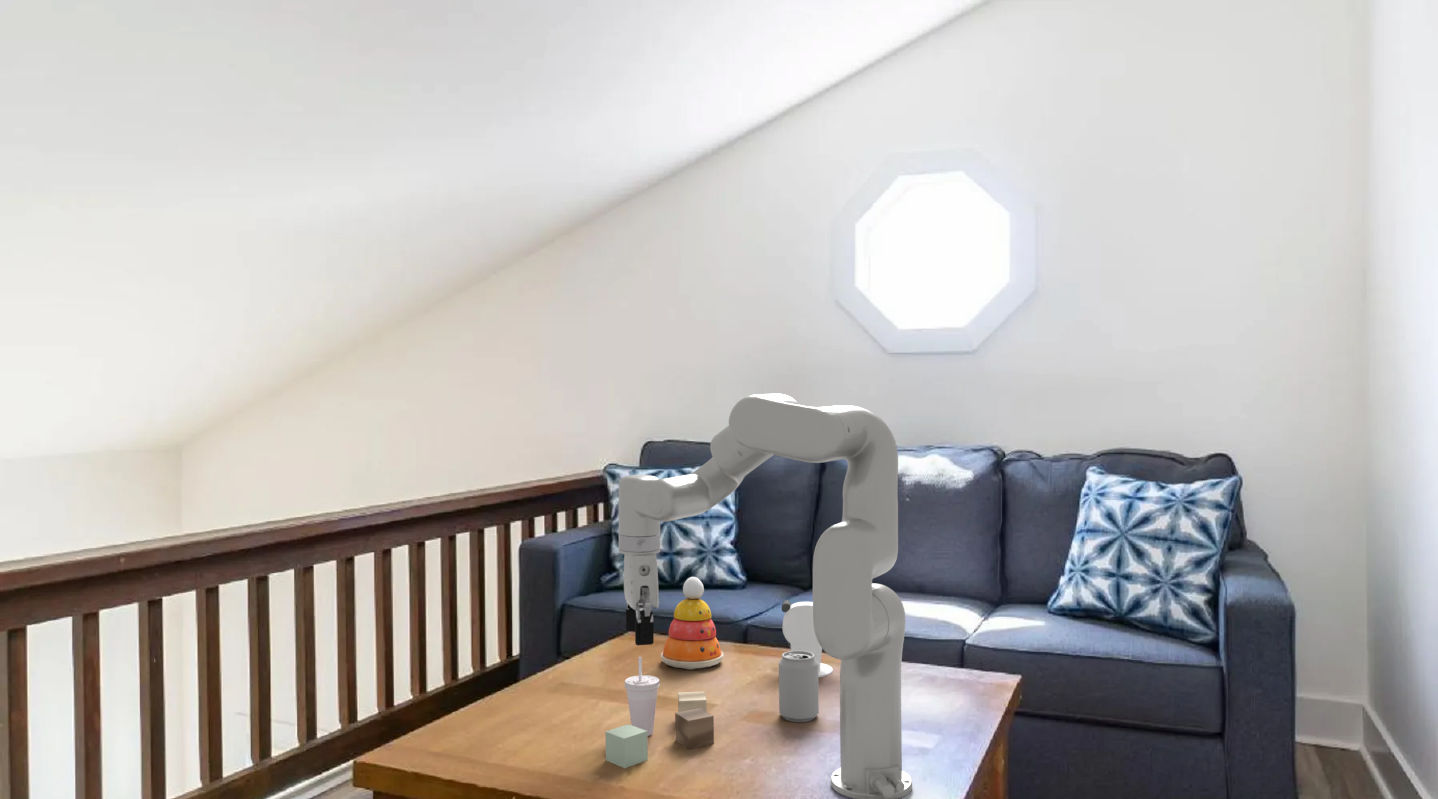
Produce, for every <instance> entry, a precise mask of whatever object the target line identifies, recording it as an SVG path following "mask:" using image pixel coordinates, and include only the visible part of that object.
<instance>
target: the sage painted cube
mask: <svg viewBox="0 0 1438 799" xmlns="http://www.w3.org/2000/svg"><path fill="white" fill-rule="evenodd" d="M604 734H605V736H604V737H605V761H607V762H609V763H610V764H611V763H612V764H614V765H615V766H619V767H620V768H623V769H626V768H628V767H632V766H635V765H637V764H640V763H643V762H646V761H648V758H649V757H648V749H649V748H648V736H647V731H646V730H643V729H640V728H638V727H635V726H632V725H631V724H630V723H627V724H625V725H622V726H618V727H615V728H613V729H609V730H606V731H605V733H604Z"/></svg>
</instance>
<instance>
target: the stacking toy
mask: <svg viewBox="0 0 1438 799" xmlns="http://www.w3.org/2000/svg"><path fill="white" fill-rule="evenodd" d="M682 592H683V593H682V594H683V595H684V597H685V599H683V600H681V601H680V602H679V603H678V604H677V605H676V607H675V609H674V612H673V620H672V621H671V623H670V625H669V629H668V638H667V639H666V641H665V643H664V647H663V651H662V652H661V653H660V659H661V660H662V662H663V663H664V664H666V665H667V666H671V667H673V668H677V669H678V668H679V669H685V670H689V671H690V670H691V671H693V670H695V669H703V668H710V667H712V666H715V665H718V664H719V663H720V662H722V660H723V659H724V657H725V656H724V655H725V654H724V652H723V651H722V650H721V646H720V643H719V640H718V639H717V637H716V636H717V629H716V625H715V623H714V621H713V620H712V611H711V609H710V606H709V605H708V603H706V602H705V601H704V600H703V599H701V597H702V596H703V594H704V592H705V588H704V584H703V582H702V581H701V580H700V578H698V577H696V576H690V577H688V578H687V579H686V580H685V582H684V584H683V586H682Z"/></svg>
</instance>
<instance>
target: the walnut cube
mask: <svg viewBox="0 0 1438 799" xmlns="http://www.w3.org/2000/svg"><path fill="white" fill-rule="evenodd" d="M674 714H675V717H674V718H675V719H674V720H675V724H674V725H675V726H674V727H675V730H674V732H675V741H677V742H678V743H679V744H681V745H682V746H684V747H685V748H686V749H688V750H691V749H695V748H700V747H705V746H709V745H713V744H715V733H714V732H715V730H714V729H715V725H714V724H715V722H714V720H715V718H714V717H715V716H714V715H713V714H711V713H709V712H708V711H707V712H706V711H704V710H703V709H701V708H697V709H692V710H687V711H682V712H678V711H677V712H675V713H674Z"/></svg>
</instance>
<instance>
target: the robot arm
mask: <svg viewBox="0 0 1438 799" xmlns="http://www.w3.org/2000/svg"><path fill="white" fill-rule="evenodd" d="M729 413H730V414H729V417H728V425H727V426H726V427H725V428H723V429H722V430H721V431H720V432H717V434H716V435H714V436H713V437H712V439H711V441H710V444H709V445H710V448H709V449H710V453H711V458H710V459H709V460H708V461H706V462H705V463H704V464H703V465H701V466H700V467H698V468H697V469H696V470H694V471H692V472H691V473H689V474H682V475H677V476H670V477H664V478H658V477H657V476H654V475H650V474H649V475H648V474H632V475H631V474H630V475H626V476H623V477H622V478H620V480H619V483H618V553H619V554H622V555H624V557H623V593H624V599H625V601H626V603H625V604H626V605H625V606H626V609H625V631H627V632H634V641H635V643H634V644H635V645H636V646H648V645H649V646H650V645H651V646H652V645H653V644H654V643H655V642H654V640H655V638H654V634H655V633H654V613H653V609H658V608H659V607H660V599H659V598H660V597H659V575H658V574H659V573H658V572H659V570H658V559H657V554H659V553H660V552H661V522H670V521H671V522H672V521H677V520H680V519H684V518H685V519H686V518H689V517H695V516H698V515H702V514H704V513H706V512H708V511H709V510H710V509H712V508H714V507H715V506H716V505H718V504H719V503H721V502H722V501H723V500H725V499H726V498H727V497H729V496H730V495H731V494H733V492H735V491H736V490H737V488H738V487H739V486H740V485H741V483H742V482H743V480H744V479H745V477H746V476H747V475H749V474H750V473H751V472H752V471H754V470H755V469H756V468H758V467H759V466H761V465H762V464H763V463H765V462H766V461H767V460H768V459H770V458H772V457H773V456H778V457H781V458H783V457H784V458H787V459H791V460H796V461H801V462H805V463H813V464H814V463H815V464H820V463H827V462H834V461H840V460H845V461H846V462H847V469H846V473H845V476H844V480H843V485H842V517H841V522H838V523H836V524H833V525H831V526H830V527H828V528H827V529H825V530H824V531H823V532H822V534H820V537H819V539H818V540H817V542H816V545H815V547H814V550H813V557H812V602H813V626H814V632H815V635H816V638H817V641H818V643H819V645H820V646H821V648H822V649H823V651H824V652H825V653H826V654H827V655H828V656H829V657H831V658H834V659H837V660H840V665H839V667H840V668H839V727H840V728H839V730H840V731H839V734H840V735H839V741H840V742H839V743H840V767H838V769H835V771H833V772H832V774H831V775H830V785H831V787H832V789H833V790H834V791H836V792H837V794H840V795H841V796H843V797H846V798H849V799H901V798H903V797H905V796H907V795H908V794H909V793H910V792H911V791H912V789H913V780H912V777H911V776H910V774H908V773H907V772H905V771H904V770H903V763H902V762H903V755H902V753H903V752H902V751H903V750H902V749H903V748H902V747H903V746H902V745H903V744H902V741H903V740H902V738H903V737H902V662H903V661H902V658H903V648H904V640H905V632H906V611H905V608H904V604H903V601H902V600H901V598H900V596H899V595H898V594H897V593H896V592H895V591H894V590H893V589H891V588H890V587H888V586H887V585H884V584H881V583H876V582H875V583H873V579H875V578H878V577H880V576H882V575H884V574H886V573H887V572H889V571H890V570H892V568H893V567H894V565H895V564H896V561H897V560H898V554H899V498H898V493H899V492H898V491H899V490H898V485H899V482H898V481H899V480H898V479H899V475H898V474H899V453H898V447H897V443H896V440H895V437H894V434H893V433H892V431H891V429H890V428H889V426H888V425H887V423H886V422H885V421H884V420H883V419H882V418H881V417H879V415H876V414H875V413H873V412H872V411H870V410H868V409H866V408H863V407H860V406H856V405H848V404H846V405H843V404H842V405H841V404H840V405H832V406H831V405H829V406H817V407H816V406H806V405H802V404H800V403H799V402H798V401H797V400H796V399H794V398H793V397H792V396H789V395H787V394H783V393H763V394H761V393H760V394H751V395H748V396H745V397H743V398H741V399H739V401H738V402H736V403H735V405H734V406H733V407H732V408H731V411H730V412H729Z"/></svg>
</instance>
